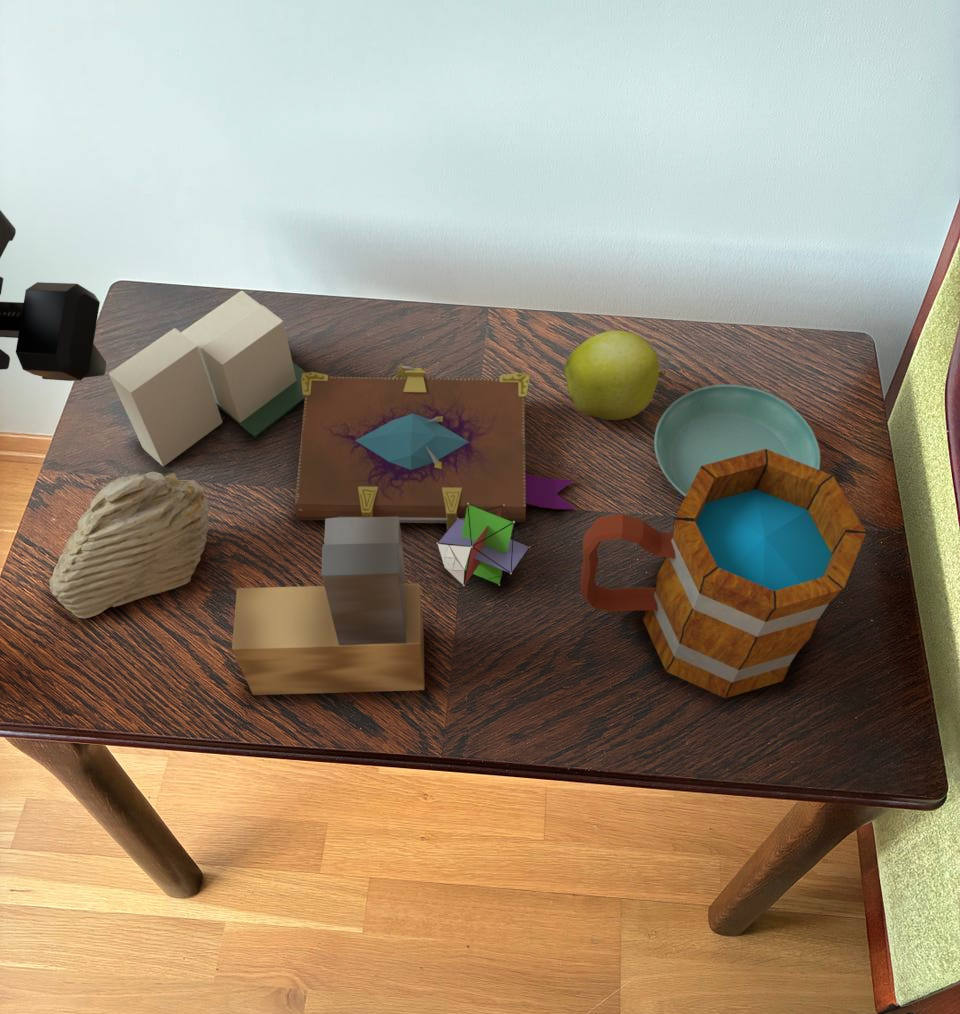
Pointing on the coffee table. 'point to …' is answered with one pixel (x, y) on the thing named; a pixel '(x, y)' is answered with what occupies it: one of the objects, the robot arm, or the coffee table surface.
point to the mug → (737, 570)
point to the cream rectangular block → (167, 396)
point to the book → (416, 448)
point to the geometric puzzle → (480, 546)
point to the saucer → (728, 431)
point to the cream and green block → (248, 362)
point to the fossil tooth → (132, 543)
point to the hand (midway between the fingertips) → (55, 365)
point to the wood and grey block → (337, 620)
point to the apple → (612, 375)
